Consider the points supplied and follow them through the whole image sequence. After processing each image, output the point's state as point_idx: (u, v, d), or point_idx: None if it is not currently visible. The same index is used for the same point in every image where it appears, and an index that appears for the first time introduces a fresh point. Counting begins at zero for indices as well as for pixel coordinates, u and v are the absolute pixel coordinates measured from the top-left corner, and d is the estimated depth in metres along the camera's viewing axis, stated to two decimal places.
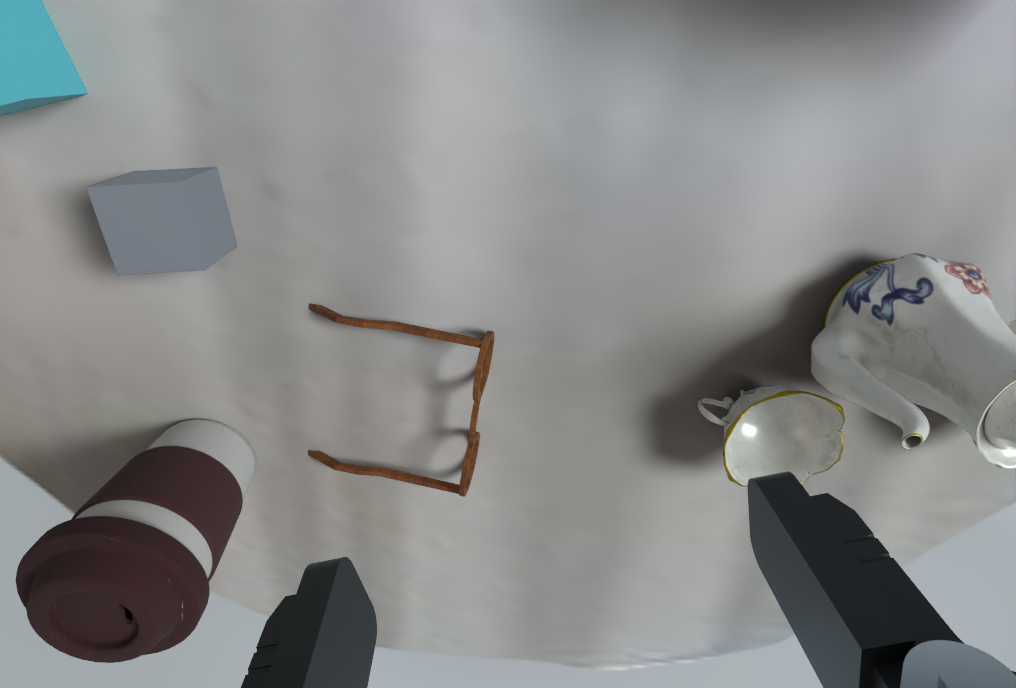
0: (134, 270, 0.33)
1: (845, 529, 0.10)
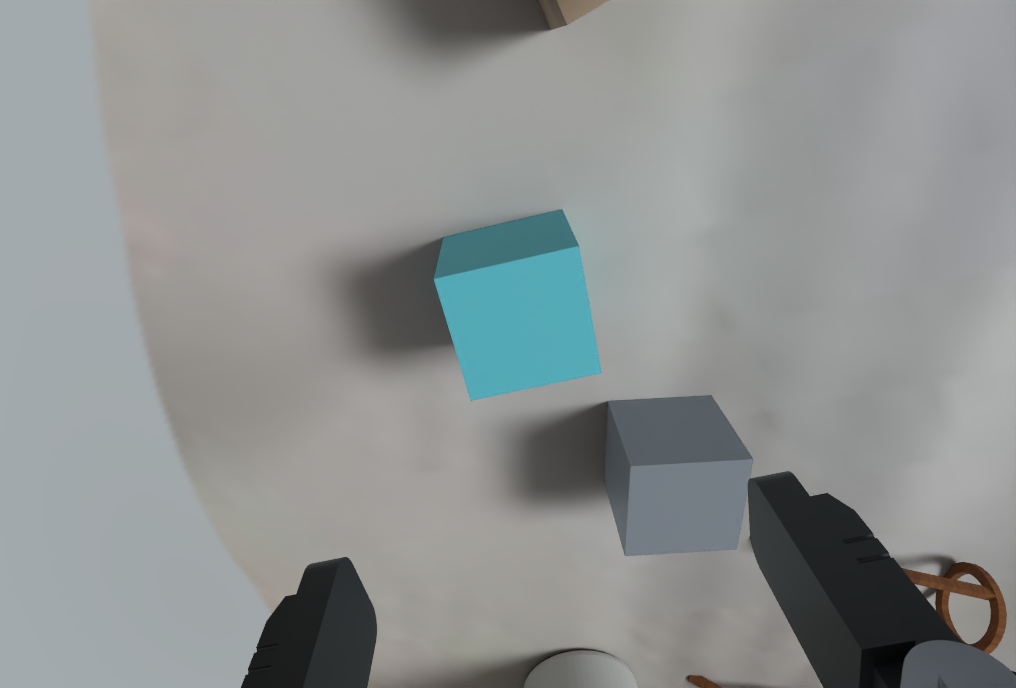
0: (648, 550, 0.26)
1: (845, 529, 0.10)
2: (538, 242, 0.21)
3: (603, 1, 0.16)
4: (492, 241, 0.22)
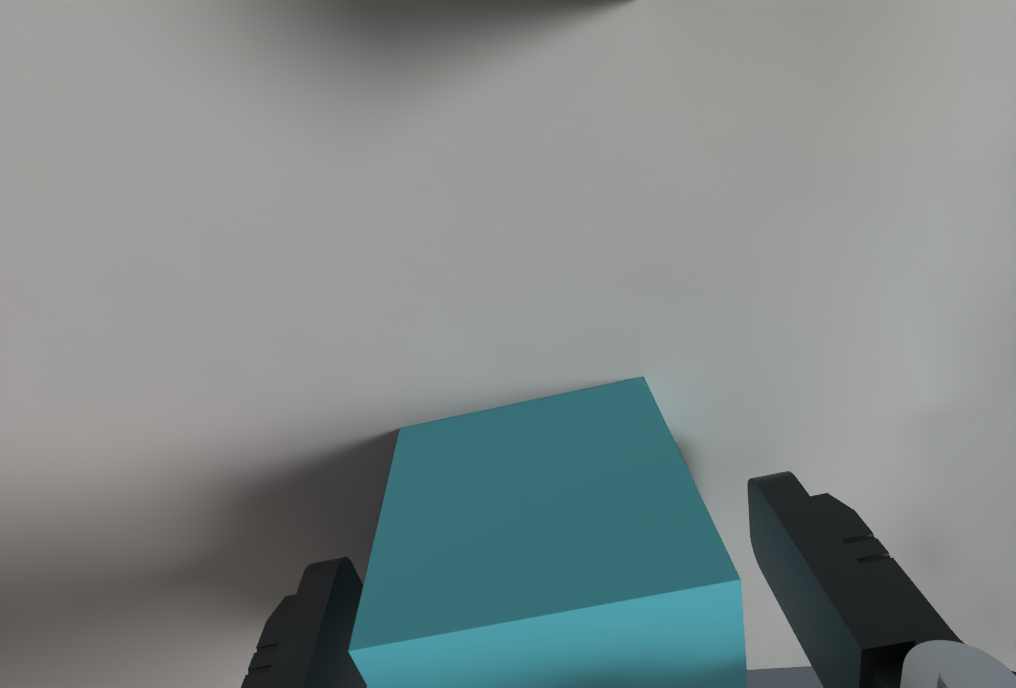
0: None
1: (845, 529, 0.10)
2: (615, 517, 0.08)
3: None
4: (500, 479, 0.10)
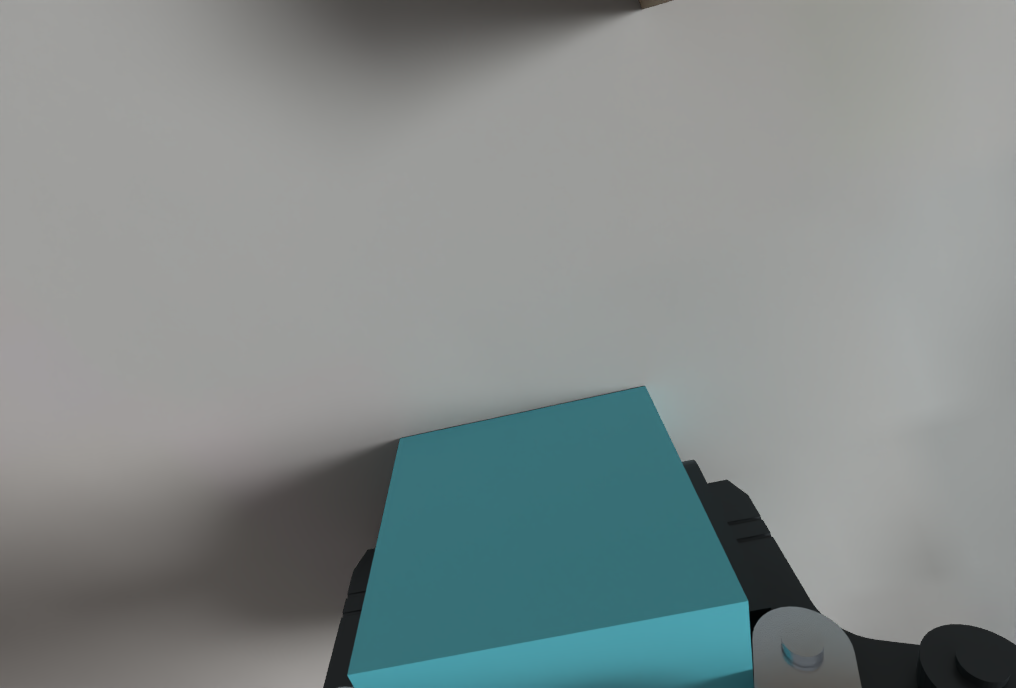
0: None
1: (736, 512, 0.10)
2: (619, 535, 0.08)
3: None
4: (501, 494, 0.10)
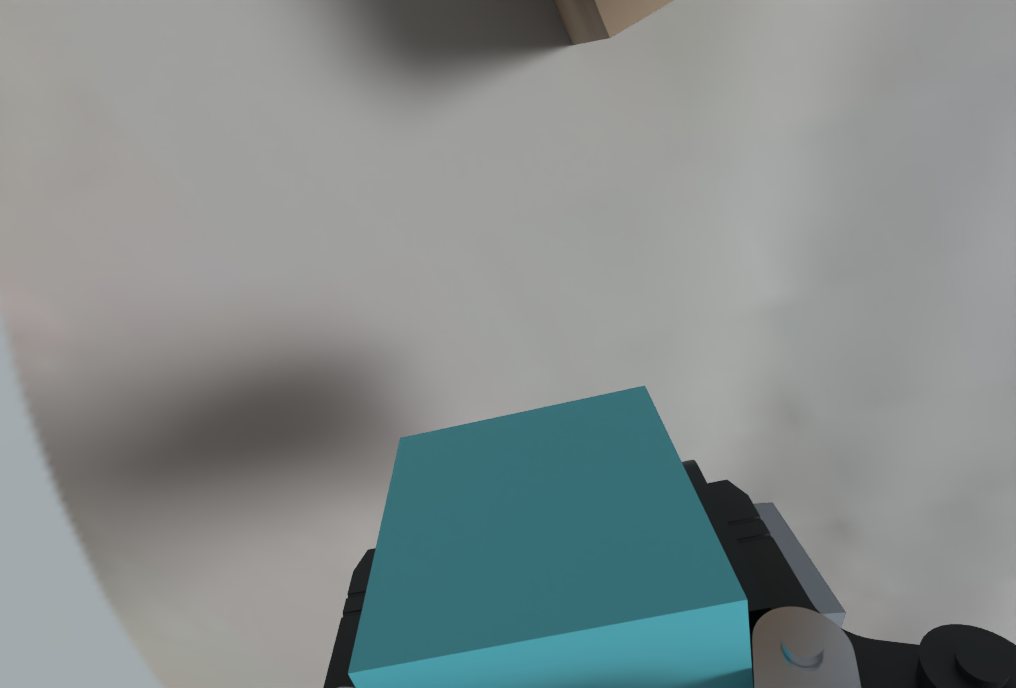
0: None
1: (736, 512, 0.10)
2: (619, 533, 0.08)
3: (666, 1, 0.10)
4: (501, 494, 0.10)
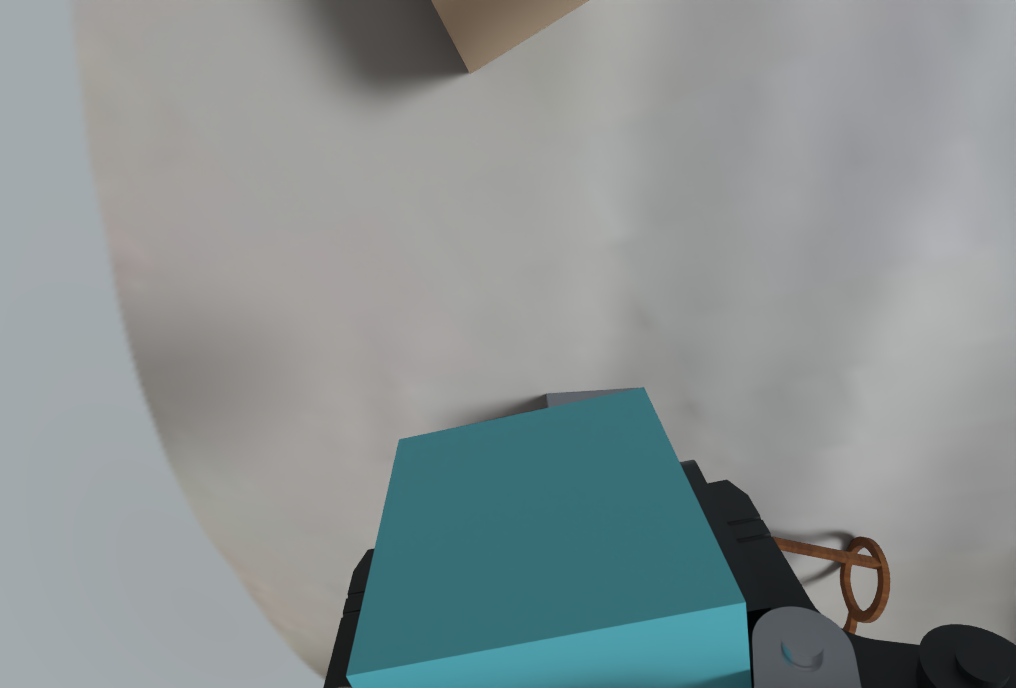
0: None
1: (736, 512, 0.10)
2: (617, 536, 0.08)
3: (498, 54, 0.20)
4: (500, 495, 0.10)
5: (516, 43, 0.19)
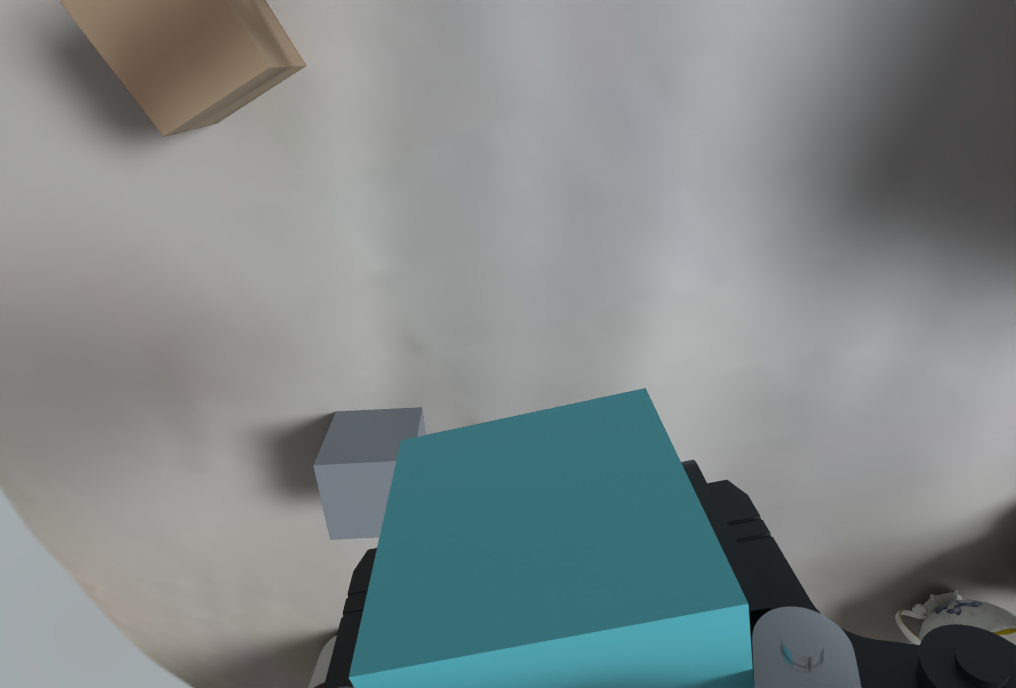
0: (348, 535, 0.31)
1: (736, 512, 0.10)
2: (619, 537, 0.08)
3: (185, 120, 0.22)
4: (501, 496, 0.10)
5: (200, 110, 0.22)
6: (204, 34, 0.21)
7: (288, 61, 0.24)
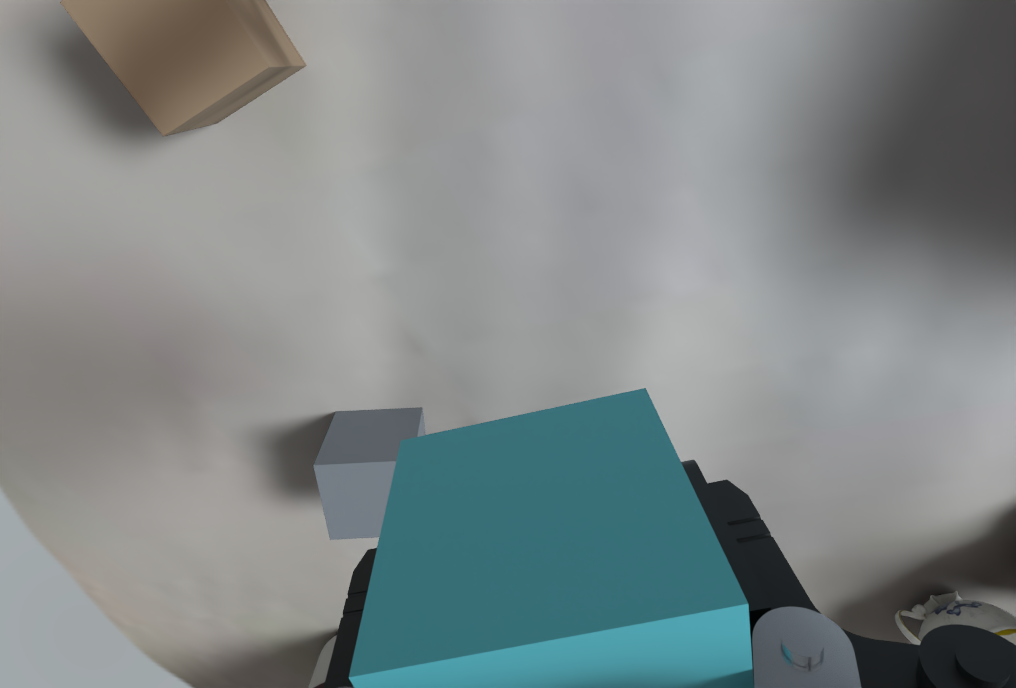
0: (348, 535, 0.31)
1: (736, 512, 0.10)
2: (619, 537, 0.08)
3: (185, 120, 0.22)
4: (501, 496, 0.10)
5: (199, 110, 0.22)
6: (204, 34, 0.21)
7: (288, 61, 0.24)
